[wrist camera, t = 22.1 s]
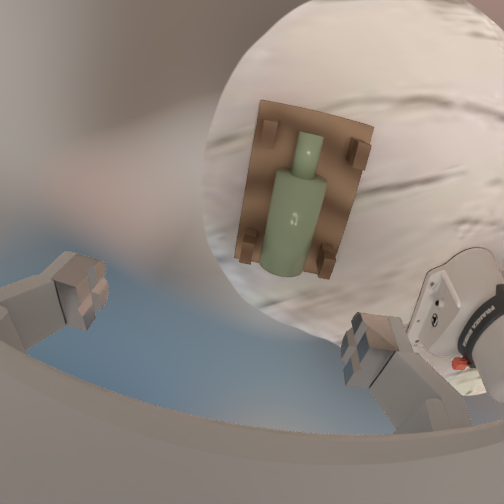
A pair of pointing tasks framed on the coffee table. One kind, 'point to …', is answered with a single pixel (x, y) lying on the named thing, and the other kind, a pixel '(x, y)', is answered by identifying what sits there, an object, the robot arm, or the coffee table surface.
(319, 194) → the olive glass bottle
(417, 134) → the coffee table surface
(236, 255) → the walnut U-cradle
